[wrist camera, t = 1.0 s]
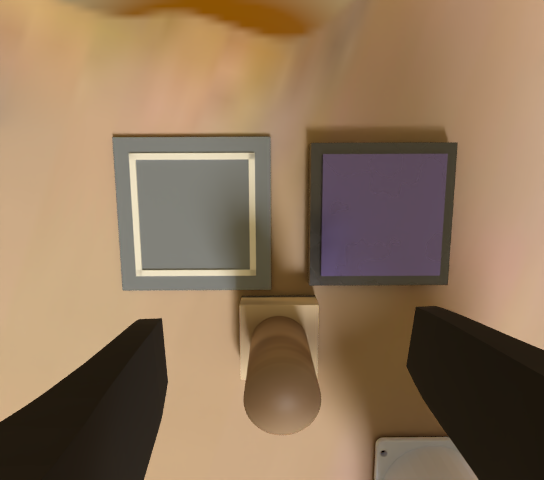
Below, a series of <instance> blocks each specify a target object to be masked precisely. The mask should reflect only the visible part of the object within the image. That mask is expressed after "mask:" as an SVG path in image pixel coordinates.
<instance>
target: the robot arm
mask: <svg viewBox="0 0 544 480" xmlns="http://www.w3.org/2000/svg"><path fill="white" fill-rule="evenodd" d="M407 368H408V370H409V373H410V375H411V377H412V379H413V381H414V383H415V385H416V387H417V388H418V390H419V392H420V394H421V396H422V398H423V399H424V401H425V402H426V404H427V406H428V407H429V409H430V410H431V411H432V413H433V414H434V416H435V417H436V419H437V420H438V422H439V423H440V425H441V426H442V428H443V429H444V430H445V432H446V433H447V435H448V436H449V437H382V438H379V439H378V440H377V441H376V447H375V470H374V480H544V350H542V349H540V348H537V347H535V346H532V345H530V344H527V343H525V342H523V341H520V340H518V339H515V338H513V337H511V336H508V335H506V334H504V333H501V332H499V331H497V330H495V329H492V328H490V327H488V326H485V325H483V324H481V323H478V322H476V321H474V320H471V319H469V318H467V317H464V316H462V315H459V314H457V313H454V312H452V311H449V310H446V309H443V308H440V307H437V306H429V307H416V310H415V316H414V323H413V329H412V335H411V341H410V347H409V354H408V360H407ZM167 384H168V378H167V368H166V357H165V347H164V336H163V325H162V318H159V319H138V320H137V321H136V322H134V323H133V324H132V325H130V326H129V327H128V328H127V329H126V330H124V331H123V332H122V333H121V334H120V335H118V336H117V337H116V338H115V339H114V340H112V341H111V342H110V343H109V344H108V345H106V346H105V347H104V348H103V349H102V350H100V351H99V352H98V353H97V354H95V355H94V356H93V357H92V358H90V359H89V360H88V361H87V362H86V363H84V364H83V365H82V366H80V367H79V368H78V369H76V370H75V371H74V372H72V373H71V374H70V375H68V376H67V377H66V378H64V379H63V380H62V381H60V382H59V383H57V384H56V385H55V386H53V387H52V388H51V389H49V390H48V391H47V392H45V393H44V394H42V395H41V396H40V397H38V398H37V399H35V400H34V401H32V402H31V403H29V404H28V405H26V406H25V407H23V408H22V409H20V410H19V411H17V412H15V413H14V414H12V415H11V416H9V417H8V418H6V419H4V420H3V421H1V422H0V480H144V477H145V474H146V470H147V467H148V464H149V460H150V457H151V454H152V450H153V447H154V443H155V440H156V436H157V433H158V429H159V426H160V422H161V419H162V414H163V408H164V402H165V396H166V390H167ZM383 450H385V452H383V453H381V451H383Z"/></svg>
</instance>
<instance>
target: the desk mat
mask: <svg viewBox="0 0 544 480" xmlns="http://www.w3.org/2000/svg"><path fill="white" fill-rule="evenodd" d="M112 139H113V154H114V168H115V183H116V198H117V213H118V228H119V243H120V258H121V273H122V287H123V290H271V156H270V137H112Z"/></svg>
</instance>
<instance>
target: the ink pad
mask: <svg viewBox="0 0 544 480" xmlns="http://www.w3.org/2000/svg"><path fill="white" fill-rule="evenodd" d="M456 158H457V143H311V144H310V145H309V223H308V283H309V285H310V286H314V285H448V272H449V257H450V243H451V229H452V215H453V200H454V186H455V172H456Z"/></svg>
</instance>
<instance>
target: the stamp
mask: <svg viewBox="0 0 544 480" xmlns="http://www.w3.org/2000/svg"><path fill="white" fill-rule="evenodd" d="M239 318H240V373H241V380H246V383H245V391H244V407H245V411H246V413H247V415H248V417H249V419H250V420H251V421H252V422H253V423H254V424H255V425H256V426H257V427H258V428H260V429H261V430H263V431H265V432H267V433H270V434H275V435H290V434H294V433H297V432H299V431H301V430H303V429H305V428H306V427H307V426H309V425H310V424H311V423H312V422H313V421H314V419H315V418H316V416H317V414H318V412H319V410H320V406H321V393H320V388H319V384H318V380H317V379H318V334H319V304H318V302H317V299H316V297H315V295H313V296H242V297H241V301H240V305H239Z"/></svg>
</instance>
